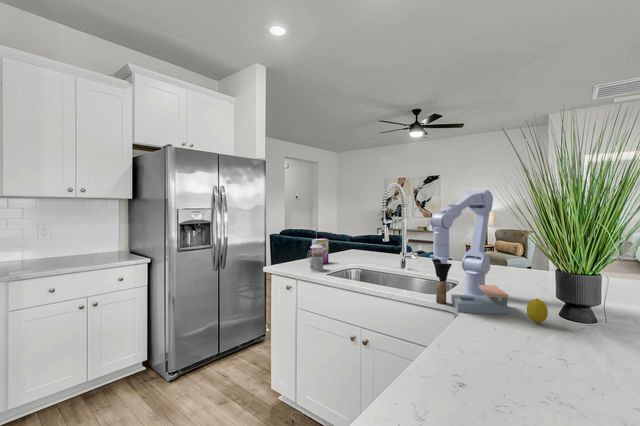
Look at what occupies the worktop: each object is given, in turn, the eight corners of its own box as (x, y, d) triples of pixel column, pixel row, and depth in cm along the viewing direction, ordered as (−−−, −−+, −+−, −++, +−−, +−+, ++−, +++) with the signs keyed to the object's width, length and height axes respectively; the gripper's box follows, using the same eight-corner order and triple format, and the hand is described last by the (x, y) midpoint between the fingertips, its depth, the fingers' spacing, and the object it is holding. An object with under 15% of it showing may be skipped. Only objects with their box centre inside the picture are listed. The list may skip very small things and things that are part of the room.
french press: (328, 269, 187) (328, 228, 186) (314, 272, 179) (313, 229, 178) (317, 267, 194) (316, 227, 193) (302, 270, 186) (302, 228, 185)
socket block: (451, 301, 122) (451, 283, 122) (495, 303, 119) (495, 285, 119) (458, 312, 109) (458, 292, 109) (508, 315, 106) (508, 294, 106)
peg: (435, 301, 123) (435, 280, 123) (445, 301, 122) (445, 281, 122) (437, 303, 119) (437, 283, 119) (447, 304, 118) (447, 283, 118)
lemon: (551, 327, 95) (551, 301, 95) (531, 326, 96) (531, 300, 96) (542, 321, 100) (542, 296, 100) (523, 319, 102) (523, 295, 101)
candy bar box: (316, 265, 202) (316, 240, 202) (311, 264, 206) (311, 239, 206) (329, 263, 210) (328, 238, 209) (324, 262, 214) (324, 238, 213)
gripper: (428, 242, 128) (428, 274, 128) (432, 246, 114) (432, 283, 114) (446, 242, 127) (446, 275, 127) (453, 246, 113) (453, 283, 113)
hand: (441, 279), depth 120 cm, fingers open, 7 cm apart
